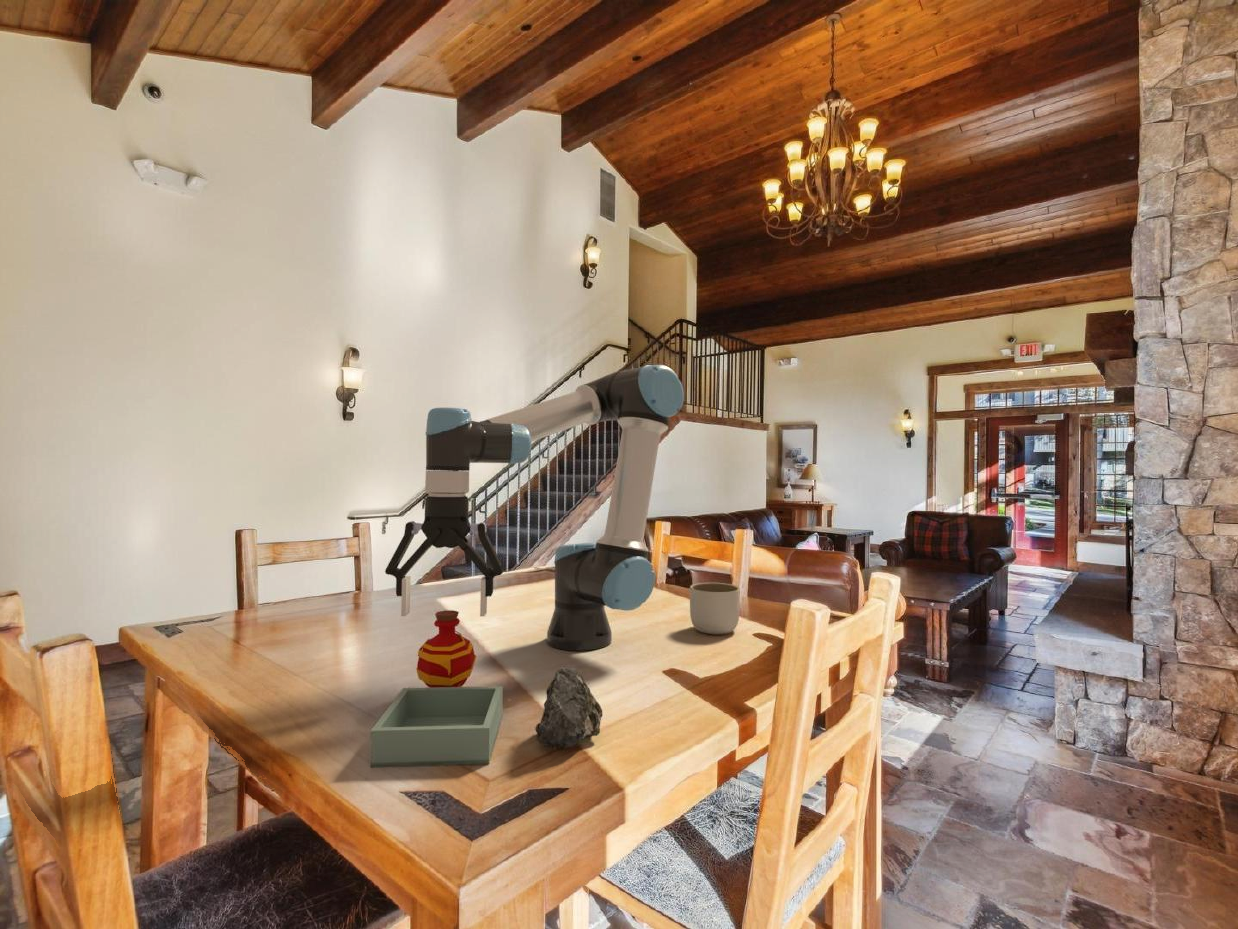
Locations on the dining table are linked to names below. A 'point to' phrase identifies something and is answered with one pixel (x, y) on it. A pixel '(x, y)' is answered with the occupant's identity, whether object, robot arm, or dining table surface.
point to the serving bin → (438, 727)
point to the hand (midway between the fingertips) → (444, 614)
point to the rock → (568, 711)
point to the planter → (714, 607)
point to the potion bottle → (446, 654)
